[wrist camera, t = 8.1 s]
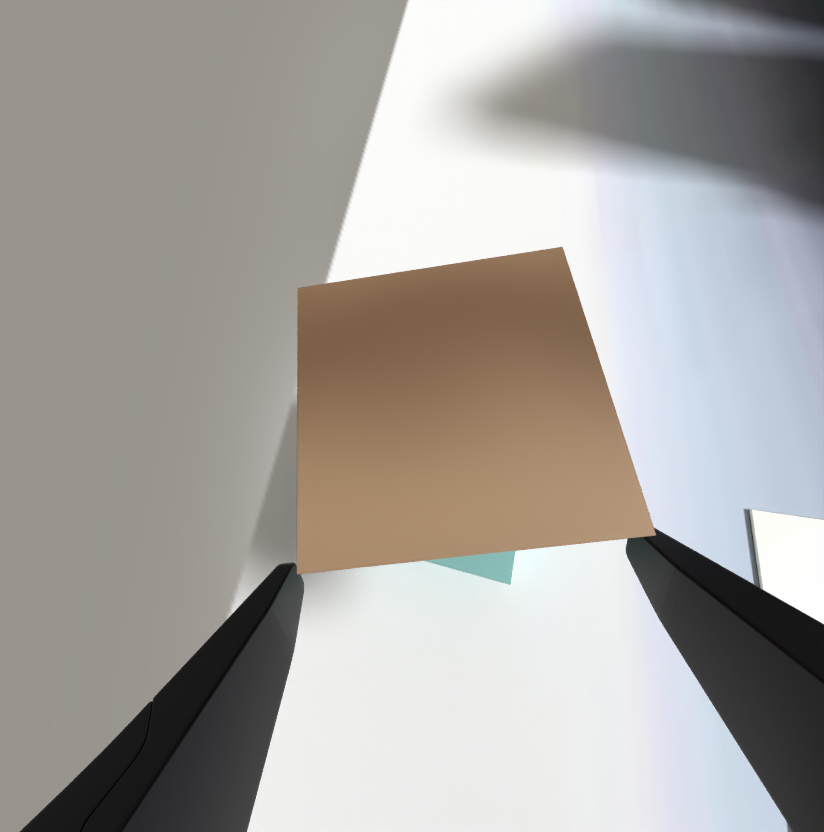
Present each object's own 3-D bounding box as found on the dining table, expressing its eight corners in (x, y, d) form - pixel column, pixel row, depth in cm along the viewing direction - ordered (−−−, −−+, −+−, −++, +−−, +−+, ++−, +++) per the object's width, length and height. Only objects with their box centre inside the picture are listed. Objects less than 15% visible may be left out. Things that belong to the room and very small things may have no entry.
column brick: (502, 524, 16) (656, 535, 4) (400, 536, 16) (297, 574, 5) (483, 426, 17) (562, 247, 6) (391, 438, 18) (297, 288, 6)
